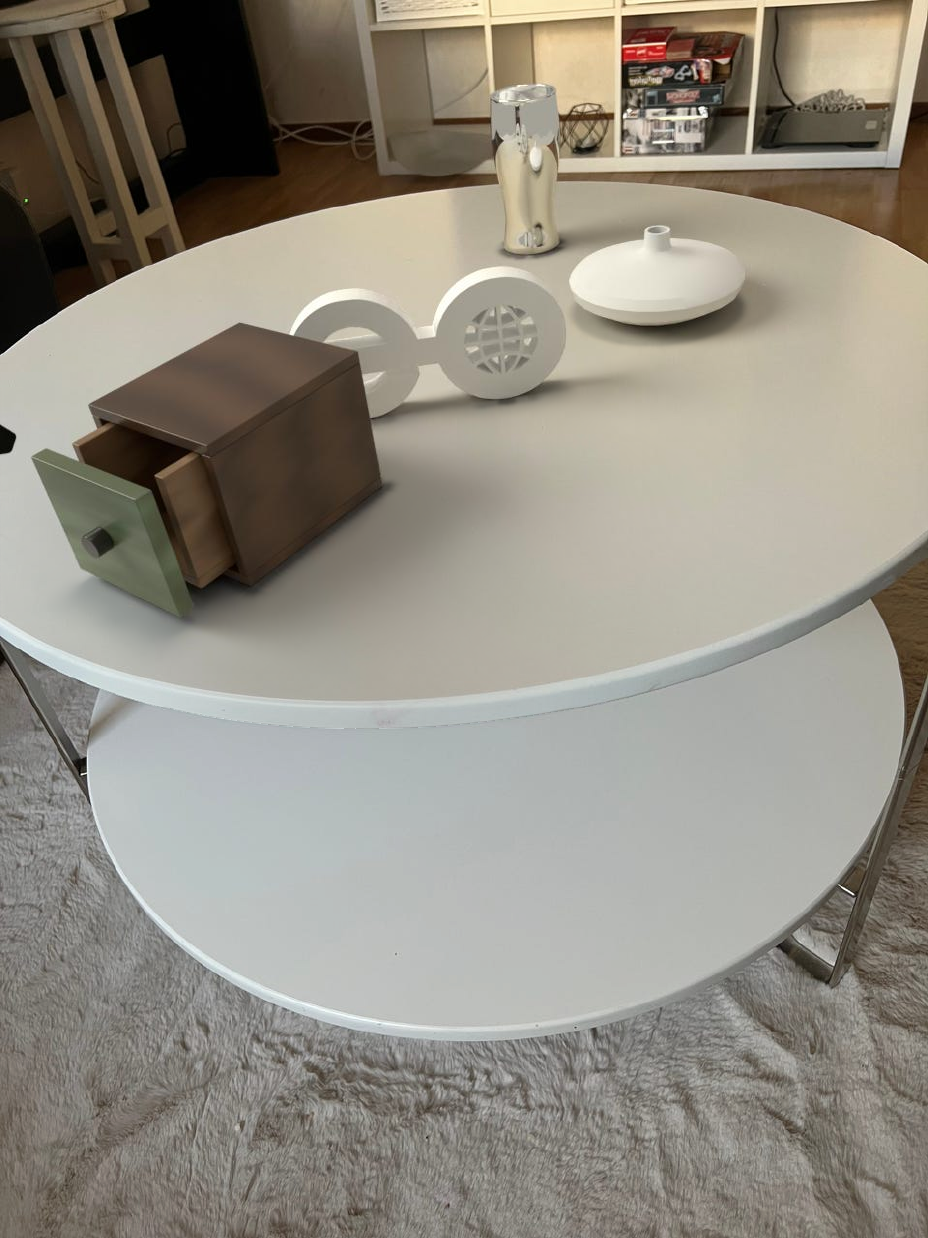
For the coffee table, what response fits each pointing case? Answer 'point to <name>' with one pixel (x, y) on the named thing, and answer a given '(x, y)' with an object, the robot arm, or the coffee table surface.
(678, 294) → the vase
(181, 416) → the cabinet
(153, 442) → the drawer
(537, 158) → the beer glass
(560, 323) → the white flat cutout piece
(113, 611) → the coffee table surface
